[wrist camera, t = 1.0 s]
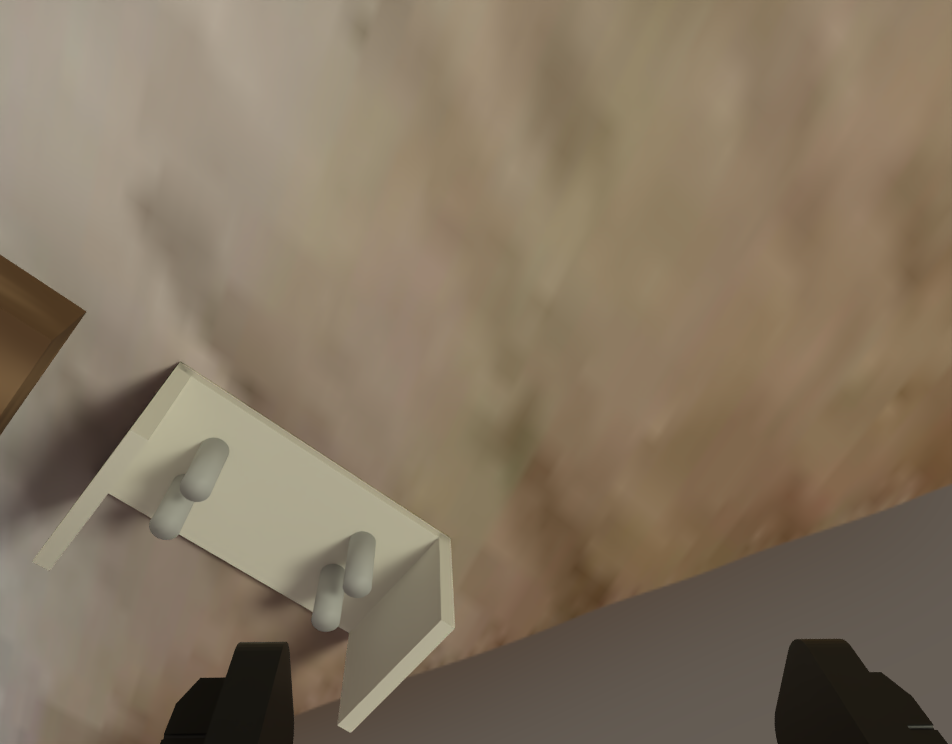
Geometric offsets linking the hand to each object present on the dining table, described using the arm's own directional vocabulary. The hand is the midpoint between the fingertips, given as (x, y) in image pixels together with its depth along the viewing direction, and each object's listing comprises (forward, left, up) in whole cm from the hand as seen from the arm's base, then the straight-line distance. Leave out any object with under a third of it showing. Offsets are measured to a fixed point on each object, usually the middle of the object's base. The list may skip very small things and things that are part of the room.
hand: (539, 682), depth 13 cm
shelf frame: (+1, -17, -26) cm, 31 cm away
